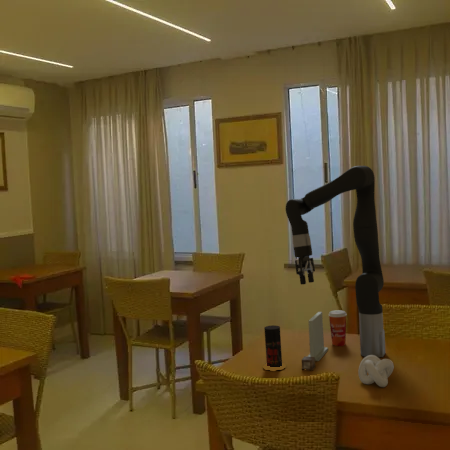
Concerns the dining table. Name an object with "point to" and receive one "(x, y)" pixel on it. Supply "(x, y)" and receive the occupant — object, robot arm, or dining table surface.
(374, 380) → the white knot sculpture
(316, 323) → the screen
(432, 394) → the dining table surface
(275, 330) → the deodorant
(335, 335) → the paper cup
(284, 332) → the dining table surface
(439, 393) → the dining table surface
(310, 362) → the letter cube
